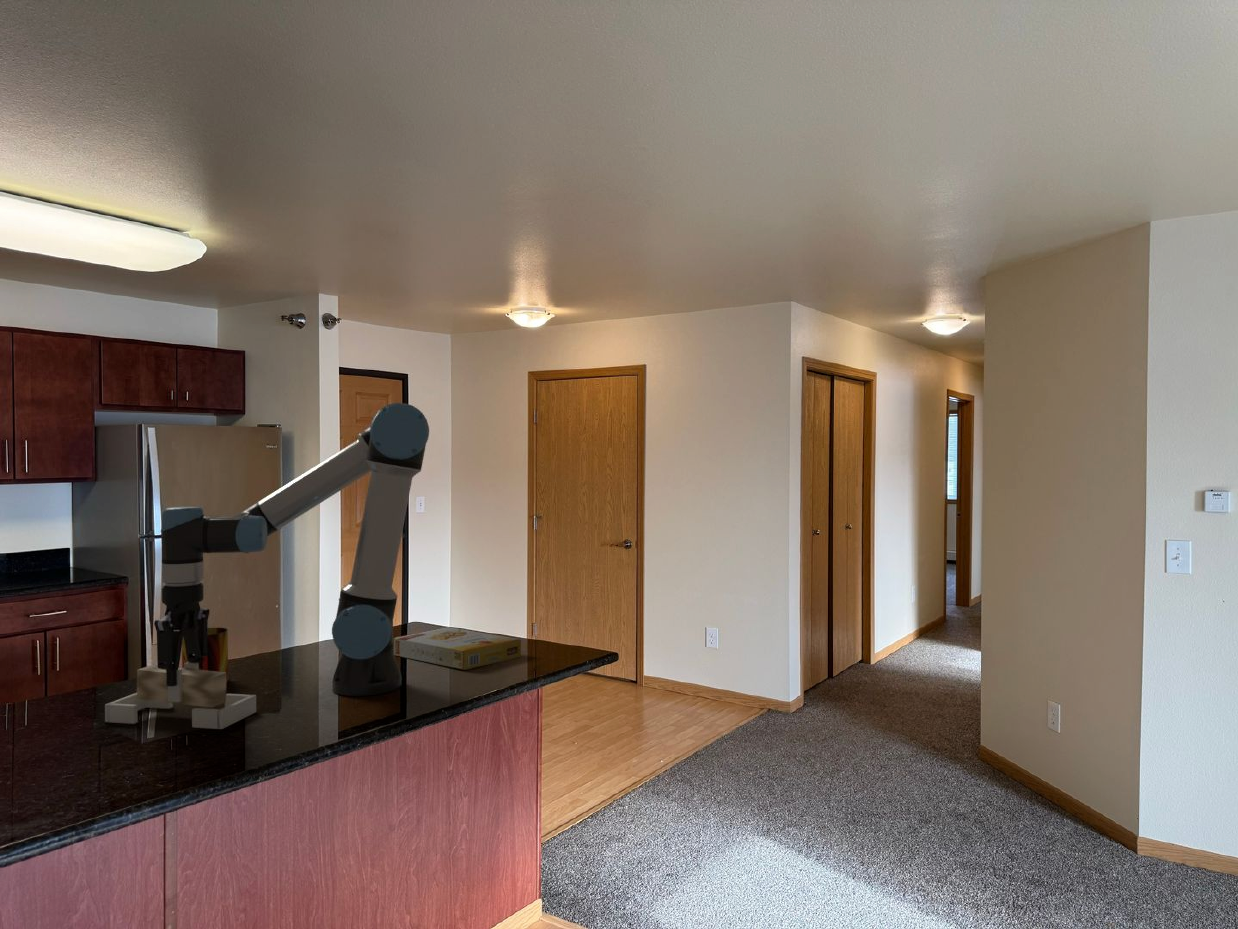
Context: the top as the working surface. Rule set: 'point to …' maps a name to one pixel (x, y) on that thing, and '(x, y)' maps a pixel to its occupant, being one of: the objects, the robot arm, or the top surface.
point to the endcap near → (225, 712)
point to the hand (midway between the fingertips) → (183, 697)
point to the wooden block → (183, 686)
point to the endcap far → (130, 709)
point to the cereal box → (457, 648)
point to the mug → (213, 651)
